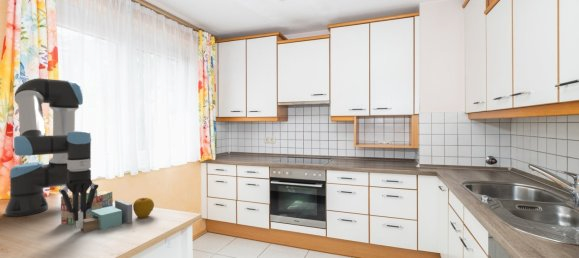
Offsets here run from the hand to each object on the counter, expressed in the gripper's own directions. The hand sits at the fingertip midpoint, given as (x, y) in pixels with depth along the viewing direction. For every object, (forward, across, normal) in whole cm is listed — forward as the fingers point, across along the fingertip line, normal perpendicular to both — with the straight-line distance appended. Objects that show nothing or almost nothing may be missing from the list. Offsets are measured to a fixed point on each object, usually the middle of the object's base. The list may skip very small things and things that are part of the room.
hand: (79, 227), depth 112 cm
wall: (+1, +17, 0) cm, 17 cm away
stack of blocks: (+2, +9, +18) cm, 20 cm away
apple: (+2, +24, -3) cm, 24 cm away
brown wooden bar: (+1, +6, -1) cm, 6 cm away
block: (+1, +10, 0) cm, 10 cm away
